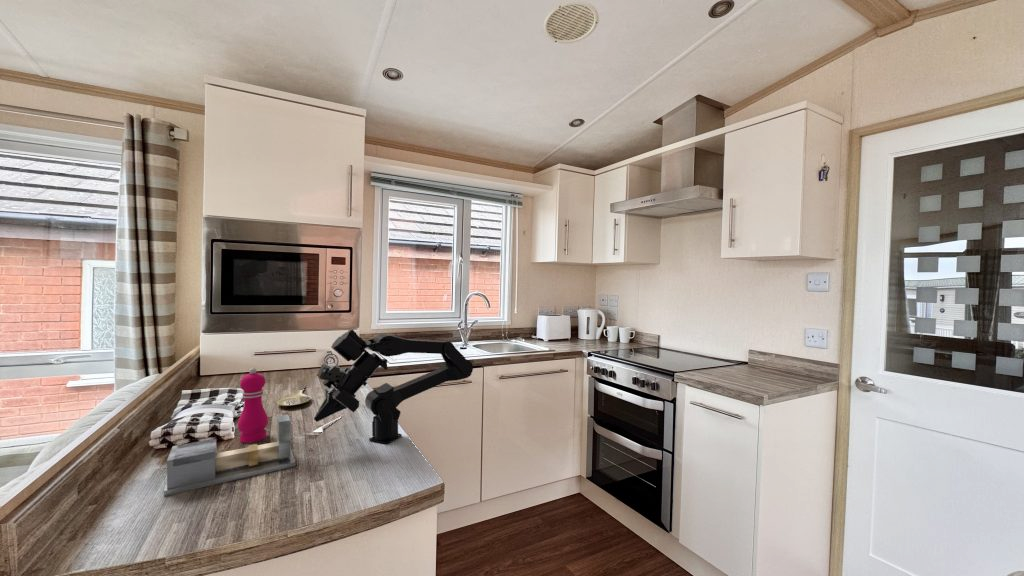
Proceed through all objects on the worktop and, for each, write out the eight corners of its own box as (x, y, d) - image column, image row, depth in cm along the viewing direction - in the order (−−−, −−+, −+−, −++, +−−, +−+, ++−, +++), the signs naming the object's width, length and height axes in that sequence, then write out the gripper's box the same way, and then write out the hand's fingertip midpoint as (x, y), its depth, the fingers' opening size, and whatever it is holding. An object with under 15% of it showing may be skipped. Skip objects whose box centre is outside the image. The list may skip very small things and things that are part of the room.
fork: (348, 418, 133) (348, 412, 133) (312, 439, 114) (312, 433, 114) (339, 417, 134) (339, 412, 134) (301, 439, 114) (301, 432, 114)
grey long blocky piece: (290, 451, 105) (290, 424, 105) (295, 466, 97) (295, 437, 96) (170, 476, 91) (169, 445, 91) (163, 496, 83) (163, 462, 83)
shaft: (288, 450, 102) (288, 414, 102) (290, 457, 98) (290, 420, 98) (212, 466, 94) (212, 426, 93) (211, 474, 89) (211, 433, 89)
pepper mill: (253, 444, 109) (253, 371, 109) (231, 442, 111) (230, 370, 110) (274, 435, 116) (273, 365, 116) (253, 433, 118) (252, 364, 118)
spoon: (289, 392, 169) (289, 387, 169) (317, 389, 173) (317, 384, 173) (273, 411, 137) (273, 405, 137) (308, 408, 141) (308, 401, 141)
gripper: (330, 348, 114) (286, 393, 108) (345, 358, 98) (294, 411, 92) (359, 372, 118) (318, 417, 112) (378, 386, 103) (331, 438, 97)
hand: (315, 420), depth 103 cm, fingers closed
